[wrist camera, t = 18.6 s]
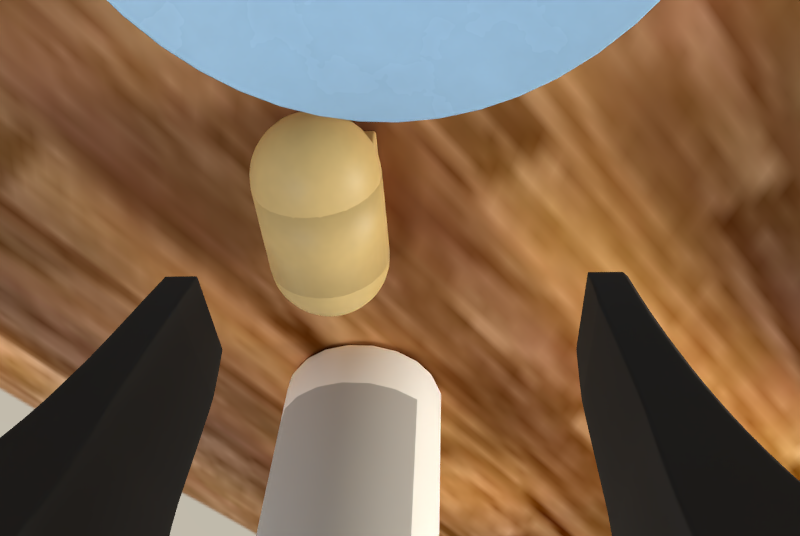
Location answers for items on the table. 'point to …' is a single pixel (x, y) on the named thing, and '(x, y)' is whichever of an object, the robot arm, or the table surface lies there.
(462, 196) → the table surface
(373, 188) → the potato
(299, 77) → the lid
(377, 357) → the spray bottle
